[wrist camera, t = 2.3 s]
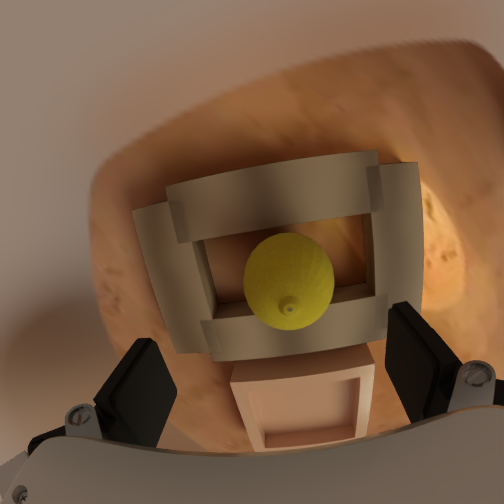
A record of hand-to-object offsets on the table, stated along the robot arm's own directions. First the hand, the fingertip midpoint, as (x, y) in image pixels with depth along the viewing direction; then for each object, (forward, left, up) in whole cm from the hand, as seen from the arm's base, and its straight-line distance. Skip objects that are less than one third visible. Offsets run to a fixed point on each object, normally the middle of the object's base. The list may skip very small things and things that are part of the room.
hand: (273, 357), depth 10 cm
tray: (-1, +15, -11) cm, 19 cm away
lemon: (-1, 0, -12) cm, 12 cm away
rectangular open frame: (-1, 0, -11) cm, 11 cm away
